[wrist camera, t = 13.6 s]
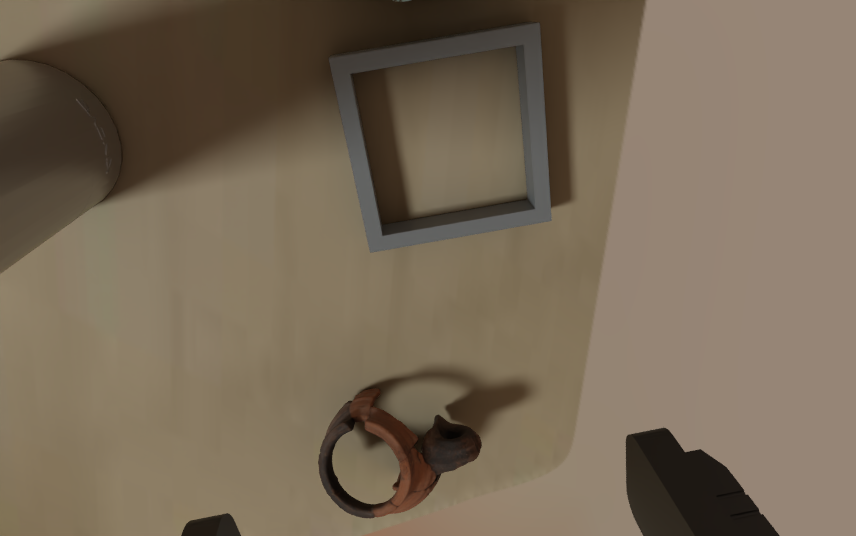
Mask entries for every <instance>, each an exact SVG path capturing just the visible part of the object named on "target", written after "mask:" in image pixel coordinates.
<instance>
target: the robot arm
mask: <svg viewBox="0 0 856 536" xmlns="http://www.w3.org/2000/svg"><path fill="white" fill-rule="evenodd" d="M121 161H122V157H121V144H120V140H119V136H118V133H117V129H116V127H115V125H114V123H113V121H112V119H111V117H110V115H109V113H108V112H107V110H106V109H105V108H104V106H103V105H102V104H101V102H100V101H99V100H98V98H97V97H96V96H95V95H94V94H93V93H92V92H91V91H89V90H88V89H87V88H86V87H85V86H84V85H83V84H82V83H80V82H79V81H77V80H76V79H74V78H73V77H71V76H70V75H68V74H67V73H65V72H63V71H60V70H58V69H56V68H54V67H51V66H49V65H46V64H42V63H38V62H34V61H29V60H5V61H0V274H1V273H2V272H3V271H5V270H6V269H8V268H9V267H10V266H12V265H13V264H15V263H16V262H17V261H19V260H20V259H21V258H23V257H24V256H26V255H27V254H28V253H30V252H31V251H32V250H34V249H35V248H37V247H38V246H39V245H41V244H42V243H44V242H45V241H46V240H48V239H49V238H50V237H52V236H53V235H55V234H56V233H57V232H59V231H60V230H62V229H63V228H64V227H66V226H67V225H69V224H70V223H72V222H73V221H74V220H76V219H77V218H78V217H80V216H81V215H82V214H84V213H85V212H86V211H88V210H89V209H90V208H92V207H93V206H95V205H96V204H97V203H99V202H100V201H101V200H103V199H104V198H105V197H106V196H107V194H108V193H109V192H110V191H111V190H112V188H113V187H114V185H115V183H116V180H117V178H118V176H119V172H120V167H121ZM626 484H627V495H628V500H629V504H630V507H631V510H632V513H633V515H634V518H635V520H636V522H637V524H638V526H639V528H640V530H641V532H642V534H643V536H779V534H778V533H777V532H776V531H775V529H774V528H773V527H772V525H771V524H770V523H769V522H768V520H767V519H766V518H765V517H764V515H763V514H762V515H761V514H760V512H759V509H758V507H757V506H756V505H755V504H754V502H753V501H752V500H751V498H750V497H749V496H748V495H745V492H744V489H743V488H742V487H741V486H740V484H739V483H738V482H737V480H736V479H735V478H734V476H733V475H732V474H731V473H730V471H729V470H728V469H727V467H725V466H724V465H723V464H721V463H720V462H718V461H717V460H715V459H714V458H712V457H711V456H709V455H708V454H706V453H705V452H704V451H702V450H701V449H700V450H695V451H690V452H684V450H683V449H682V448H681V446H680V445H679V443H678V442H677V440H676V439H675V438H674V436H673V435H672V434H671V432H670V431H669V430H668V429H666V428H661V429H655V430H650V431H646V432H640V433H635V434H631V435H628V436H627V438H626ZM181 536H241V535H240V532H239V530H238V528H237V526H236V523H235V521H234V519H233V517H232V516H231V515H230V514H228V513H227V514H222V515H217V516H212V517H207V518H202V519H197V520H192V521H189V522H188V523H187V524H186V526H185V527H184V530H183V532H182V535H181Z"/></svg>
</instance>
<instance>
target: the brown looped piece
mask: <svg viewBox="0 0 856 536" xmlns="http://www.w3.org/2000/svg"><path fill="white" fill-rule="evenodd" d="M380 394H381V392H380V390H379V389H369V390H364V391H362V392H361V393H360V394H358V395H356V396H355V399H354V400H353V401H348V402H347V403H345V405H344V406H343V407H342V408H341V409H340V410H339V412H338V413H337V415H336V416H335V417H334V419H333V420H332V422H331V424H330V425H329V427H328V430H327V433H326V436H325V439H324V440H323V443H322V446H321V449H320V452H321V453H320V455H319V461H318V464H319V474H320V478H321V481H322V484H323V486H324V488H325V490H326V492H327V494H328V495H329V496H330V497H331V499H332V500H333V501H334V502H335V503H336V504H337V505H338V506H339V507H340V508H342V509H343V510H344V511H346V512H347V513H349V514H351V515H355V516H358V517H362V518H374V517H381V516H385V515H387V514H393V513H401V512H404V511H407V510H409V509H411V508H413V507H415V506H416V505H417V504H419V503H420V502H421V501H423V500H424V499H425V498H426V497H427V496H428V495H429V493H430V492H431V491H432V490H433V488H434V487H435V485H436V484H437V482H438V480H439V478H440V475H441V473H444V472H448V471H453V470H455V469H457V468H459V467H461V466H463V465H465V464H467V463H468V462H472V461H474V460H475V459H476V458H477V457H478V455H479V453H480V449H481V446H482V444H481V440H480V437H479V435H477V434H476V432H475V431H473V430H472V429H471V428H470V427H467V426H464V425H459V424H452V423H449V422H448V421H446V420H445V419H444V418H443V417H441V416H440V415H436V416H435V419H434V424H433V427H432V429H430V430H429V431H428V432H427V433H426V435H425V438H424V439H423V443H422V453H420V452H418V451H417V450H416V449H415V447H414V445H415V444H416V442H417V441H418V437H417V436H416V435H415V434H414V433H413V432H412V431H411V430H410V429H408V428H407V427H406V426H405V425H404V424H403V423H402V422H401V421H399V420H397V419H396V418H394V417H393V416H392V415H390V414H389V413H387V412H385V411H384V410H381V409H379V408H376V407H373V406H374V402H375V400H376V399H377V398H378V396H379V395H380ZM362 421H365V430H366V431H369V432H371V433H373V434H375V435H377V436H379V437H381V438H382V439H383V440H384V441H385V442H386V443H387V444H388V445H389V446H390V447H391V449H392V450H393V452H394V454H395V455H396V457H397V459H398V461H399V465H400V474H399V477H398V480H397V482H396V483H395V484H394V485H393V490H395V491H397V492H396V493H395V495H394V496H393V497H392V498H391V499H390V500H388V501H386V502H384V503H379V504H366V503H363V502H360V501H358V500H356V499H355V498H353V497H351V496H350V495H349V494H348V493H347V492H346V491H344V489H343V488H342V486H341V485H340V484H339V482H338V478H337V476H336V475H335V473H334V470H333V465H332V454H333V449H334V447H335V444H336V442H337V441H338V439H339V438H340V437H341V436H342V435H344V434H345V433H347V432H349V431H352V430H353V428H354V425H355V422H362Z"/></svg>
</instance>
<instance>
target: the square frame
mask: <svg viewBox="0 0 856 536" xmlns="http://www.w3.org/2000/svg"><path fill="white" fill-rule="evenodd" d="M512 46H516V54H517V67H518V80H519V93H520V106H521V119H522V132H523V145H524V158H525V171H526V184H527V197H528V200H522V201H516V202H510V203H505V204H499V205H493V206H488V207H482V208H476V209H470V210H465V211H459V212H453V213H448V214H442V215H436V216H430V217H425V218H419V219H413V220H408V221H402V222H396V223H390V224H385V225H382V222H381V217H380V212H379V207H378V202H377V197H376V192H375V187H374V182H373V177H372V172H371V167H370V162H369V157H368V152H367V147H366V142H365V137H364V132H363V127H362V122H361V117H360V112H359V107H358V102H357V97H356V92H355V87H354V82H353V77H352V74H353V73H359V72H365V71H371V70H377V69H383V68H388V67H394V66H400V65H406V64H412V63H418V62H424V61H430V60H436V59H441V58H447V57H453V56H459V55H465V54H471V53H477V52H483V51H489V50H494V49H500V48H506V47H512ZM329 63H330V68H331V72H332V77H333V82H334V86H335V91H336V96H337V100H338V105H339V110H340V114H341V119H342V124H343V128H344V133H345V138H346V142H347V147H348V152H349V156H350V161H351V165H352V170H353V175H354V179H355V184H356V189H357V193H358V198H359V203H360V207H361V212H362V217H363V221H364V226H365V231H366V235H367V240H368V245H369V249H370V253H371V252H377V251H383V250H388V249H394V248H400V247H405V246H411V245H417V244H423V243H428V242H434V241H440V240H445V239H451V238H457V237H462V236H468V235H474V234H479V233H485V232H491V231H497V230H502V229H508V228H514V227H519V226H525V225H531V224H536V223H542V222H548V221H552V220H551V203H550V186H549V169H548V152H547V135H546V118H545V101H544V84H543V67H542V50H541V33H540V23H538V22H526V23H520V24H514V25H508V26H502V27H497V28H491V29H485V30H479V31H473V32H467V33H461V34H455V35H449V36H443V37H437V38H431V39H426V40H420V41H414V42H408V43H402V44H396V45H390V46H384V47H378V48H372V49H366V50H360V51H355V52H349V53H343V54H337V55H331V56H330V57H329Z"/></svg>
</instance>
